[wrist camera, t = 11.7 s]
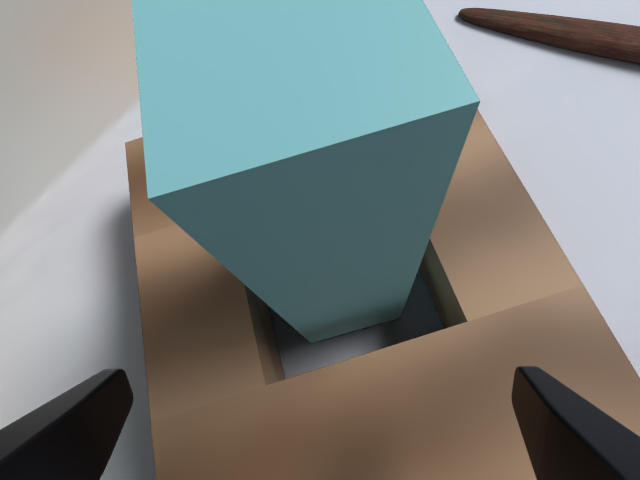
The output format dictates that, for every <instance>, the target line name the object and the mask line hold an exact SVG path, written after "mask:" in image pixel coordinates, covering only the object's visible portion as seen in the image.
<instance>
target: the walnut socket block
mask: <svg viewBox="0 0 640 480" xmlns="http://www.w3.org/2000/svg"><path fill="white" fill-rule="evenodd" d="M125 147H126V158H127V169H128V180H129V191H130V202H131V213H132V224H133V234H134V245H135V256H136V267H137V278H138V289H139V300H140V311H141V322H142V333H143V344H144V355H145V365H146V376H147V387H148V398H149V409H150V420H151V431H152V442H153V453H154V464H155V475H156V480H537V479H536V476H535V473H534V470H533V467H532V464H531V461H530V458H529V455H528V452H527V449H526V446H525V443H524V440H523V437H522V434H521V431H520V427H519V424H518V421H517V418H516V415H515V412H514V409H513V405H512V399H511V395H512V387H513V380H514V373H515V369H516V368H517V367H518V366H537V367H539V368H541V369H542V370H544V371H545V372H547V373H548V374H550V375H551V376H553V377H554V378H556V379H557V380H559V381H560V382H561V383H563V384H564V385H566V386H567V387H569V388H570V389H572V390H573V391H575V392H576V393H577V394H579V395H580V396H582V397H583V398H585V399H586V400H588V401H589V402H591V403H592V404H593V405H595V406H596V407H598V408H599V409H601V410H602V411H604V412H605V413H607V414H608V415H610V416H611V417H612V418H614V419H615V420H617V421H618V422H620V423H621V424H623V425H624V426H626V427H627V428H628V429H630V430H631V431H633V432H634V433H636V434H637V435H639V436H640V378H639V376H638V375H637V373H636V371H635V370H634V368H633V366H632V365H631V363H630V361H629V360H628V358H627V356H626V355H625V353H624V351H623V350H622V348H621V346H620V345H619V343H618V341H617V340H616V338H615V336H614V335H613V333H612V332H611V330H610V328H609V327H608V325H607V323H606V322H605V320H604V318H603V317H602V315H601V313H600V312H599V310H598V308H597V307H596V305H595V303H594V302H593V300H592V298H591V297H590V295H589V293H588V292H587V290H586V288H585V287H584V285H583V283H582V282H581V280H580V278H579V277H578V275H577V273H576V272H575V270H574V269H573V267H572V265H571V264H570V262H569V260H568V259H567V257H566V255H565V254H564V252H563V250H562V249H561V247H560V245H559V244H558V242H557V240H556V239H555V237H554V235H553V234H552V232H551V230H550V229H549V227H548V225H547V224H546V222H545V220H544V219H543V217H542V215H541V214H540V212H539V210H538V209H537V207H536V206H535V204H534V202H533V201H532V199H531V197H530V196H529V194H528V192H527V191H526V189H525V187H524V186H523V184H522V182H521V181H520V179H519V177H518V176H517V174H516V172H515V171H514V169H513V167H512V166H511V164H510V162H509V161H508V159H507V157H506V156H505V154H504V152H503V151H502V149H501V147H500V146H499V144H498V143H497V141H496V139H495V138H494V136H493V134H492V133H491V131H490V129H489V128H488V126H487V124H486V123H485V121H484V119H483V118H482V116H481V114H480V113H479V111H478V109H477V111H476V114H475V117H474V119H473V122H472V125H471V128H470V130H469V133H468V136H467V138H466V141H465V144H464V147H463V149H462V152H461V155H460V157H459V160H458V163H457V166H456V168H455V171H454V174H453V176H452V179H451V182H450V185H449V187H448V190H447V193H446V195H445V198H444V201H443V204H442V206H441V209H440V212H439V214H438V217H437V220H436V223H435V225H434V228H433V231H432V234H431V236H430V239H429V242H428V244H427V247H426V250H425V253H424V255H423V258H422V261H421V263H420V266H419V270H420V272H421V274H422V277H423V279H424V281H425V284H426V286H427V289H428V291H429V293H430V296H431V298H432V300H433V303H434V305H435V307H436V310H437V312H438V315H439V317H440V319H441V322H442V324H443V326H444V329H442V330H439V331H436V332H433V333H430V334H427V335H424V336H420V337H417V338H414V339H411V340H408V341H405V342H402V343H398V344H395V345H392V346H389V347H386V348H383V349H379V350H376V351H373V352H370V353H367V354H364V355H361V356H357V357H354V358H351V359H348V360H345V361H342V362H338V363H335V364H332V365H329V366H326V367H323V368H320V369H316V370H313V371H310V372H307V373H304V374H301V375H298V376H294V377H291V378H288V379H285V376H284V372H283V368H282V363H281V359H280V355H279V351H278V346H277V342H276V338H275V334H274V329H273V325H272V321H271V317H270V312H269V308H268V305H267V304H266V303H265V302H264V301H263V300H262V299H261V298H259V297H258V296H257V295H256V294H255V293H254V292H253V291H251V290H250V289H249V288H248V287H247V286H246V285H245V284H244V283H242V282H241V281H240V280H239V279H238V278H237V277H236V276H235V275H233V274H232V273H231V272H230V271H229V270H228V269H227V268H226V267H224V266H223V265H222V264H221V263H220V262H219V261H218V260H216V259H215V258H214V257H213V256H212V255H211V254H210V253H209V252H207V251H206V250H205V249H204V248H203V247H202V246H201V245H200V244H198V243H197V242H196V241H195V240H194V239H193V238H192V237H190V236H189V235H188V234H187V233H186V232H185V231H184V230H183V229H181V228H180V227H179V226H178V225H177V224H176V223H175V222H174V221H172V220H171V219H170V218H169V217H168V216H167V215H166V214H164V213H163V212H162V211H161V210H160V209H159V208H158V207H157V206H155V205H154V204H153V203H152V202H151V201H150V200H149V199H148V194H147V182H146V169H145V157H144V145H143V137H142V138H139V139H136V140H133V141H129V142H126V143H125Z"/></svg>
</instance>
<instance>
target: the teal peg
mask: <svg viewBox="0 0 640 480" xmlns="http://www.w3.org/2000/svg"><path fill="white" fill-rule="evenodd" d="M132 11H133V22H134V35H135V48H136V60H137V72H138V83H139V96H140V108H141V121H142V133H143V145H144V157H145V169H146V182H147V194H148V199H149V200H150V201H151V202H152V203H153V204H154V205H155V206H157V207H158V208H159V209H160V210H161V211H162V212H163V213H164V214H166V215H167V216H168V217H169V218H170V219H171V220H172V221H174V222H175V223H176V224H177V225H178V226H179V227H180V228H181V229H183V230H184V231H185V232H186V233H187V234H188V235H189V236H190V237H192V238H193V239H194V240H195V241H196V242H197V243H198V244H200V245H201V246H202V247H203V248H204V249H205V250H206V251H207V252H209V253H210V254H211V255H212V256H213V257H214V258H215V259H216V260H218V261H219V262H220V263H221V264H222V265H223V266H224V267H226V268H227V269H228V270H229V271H230V272H231V273H232V274H233V275H235V276H236V277H237V278H238V279H239V280H240V281H241V282H242V283H244V284H245V285H246V286H247V287H248V288H249V289H250V290H251V291H253V292H254V293H255V294H256V295H257V296H258V297H259V298H261V299H262V300H263V301H264V302H265V303H266V304H267V305H268V306H270V307H271V308H272V309H273V310H274V311H275V312H276V313H277V314H279V315H280V316H281V317H282V318H283V319H284V320H285V321H287V322H288V323H289V324H290V325H291V326H292V327H293V328H294V329H296V330H297V331H298V332H299V333H300V334H301V335H302V336H303V337H305V338H306V339H307V340H308V341H309V342H310V343H314V342H318V341H321V340H325V339H328V338H332V337H335V336H339V335H342V334H346V333H349V332H352V331H356V330H359V329H363V328H366V327H370V326H373V325H377V324H380V323H384V322H387V321H391V320H394V319H398V318H401V315H402V312H403V310H404V307H405V304H406V301H407V299H408V296H409V293H410V291H411V288H412V285H413V282H414V280H415V277H416V274H417V272H418V269H419V266H420V263H421V261H422V258H423V255H424V253H425V250H426V247H427V244H428V242H429V239H430V236H431V234H432V231H433V228H434V225H435V223H436V220H437V217H438V214H439V212H440V209H441V206H442V204H443V201H444V198H445V195H446V193H447V190H448V187H449V185H450V182H451V179H452V176H453V174H454V171H455V168H456V166H457V163H458V160H459V157H460V155H461V152H462V149H463V147H464V144H465V141H466V138H467V136H468V133H469V130H470V128H471V125H472V122H473V119H474V117H475V114H476V111H477V108H478V106H479V103H480V99H479V98H478V96H477V94H476V92H475V91H474V89H473V87H472V85H471V84H470V82H469V80H468V78H467V77H466V75H465V73H464V71H463V70H462V68H461V66H460V64H459V63H458V61H457V59H456V57H455V56H454V54H453V52H452V50H451V49H450V47H449V45H448V43H447V42H446V40H445V38H444V36H443V35H442V33H441V31H440V29H439V28H438V26H437V24H436V22H435V21H434V19H433V17H432V15H431V14H430V12H429V10H428V8H427V7H426V5H425V3H424V1H423V0H132Z"/></svg>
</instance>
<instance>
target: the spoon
mask: <svg viewBox="0 0 640 480" xmlns="http://www.w3.org/2000/svg"><path fill="white" fill-rule="evenodd" d="M459 16H460V17H462V18H463V19H465V20H467V21H469V22H471V23H473V24H476V25H479V26H482V27H485V28H488V29H492V30H495V31H498V32H502V33H506V34H510V35H513V36H517V37H521V38H525V39H528V40H532V41H536V42H540V43H544V44H548V45H552V46H557V47H561V48H565V49H569V50H574V51H578V52H583V53H588V54H592V55H597V56H602V57H607V58H612V59H617V60H622V61H628V62H634V63H640V26H633V25H626V24H618V23H611V22H604V21H596V20H589V19H580V18H572V17H563V16H555V15H545V14H536V13H527V12H517V11H508V10H498V9H485V8H466V9H462V10H460V12H459Z"/></svg>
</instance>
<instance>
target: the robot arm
mask: <svg viewBox="0 0 640 480" xmlns="http://www.w3.org/2000/svg"><path fill="white" fill-rule="evenodd" d="M511 399H512V405H513V409H514V412H515V415H516V418H517V421H518V424H519V427H520V431H521V434H522V437H523V440H524V443H525V446H526V449H527V452H528V455H529V458H530V461H531V464H532V467H533V470H534V473H535V476H536V479H537V480H640V436H639V435H637V434H636V433H634V432H633V431H631V430H630V429H628V428H627V427H626V426H624V425H623V424H621V423H620V422H618V421H617V420H615V419H614V418H612V417H611V416H610V415H608V414H607V413H605V412H604V411H602V410H601V409H599V408H598V407H596V406H595V405H593V404H592V403H591V402H589V401H588V400H586V399H585V398H583V397H582V396H580V395H579V394H577V393H576V392H575V391H573V390H572V389H570V388H569V387H567V386H566V385H564V384H563V383H561V382H560V381H559V380H557V379H556V378H554V377H553V376H551V375H550V374H548V373H547V372H545V371H544V370H542V369H541V368H539V367H537V366H518V367H517V368H516V369H515V373H514V380H513V387H512V395H511ZM132 404H133V393H132V390H131V387H130V384H129V381H128V378H127V375H126V373H125V371H124V370H122V369H105V370H103V371H101V372H99V373H97V374H96V375H94V376H92V377H90V378H89V379H87V380H85V381H84V382H82V383H80V384H78V385H77V386H75V387H73V388H71V389H70V390H68V391H66V392H65V393H63V394H61V395H59V396H58V397H56V398H54V399H53V400H51V401H49V402H47V403H46V404H44V405H42V406H40V407H39V408H37V409H35V410H34V411H32V412H30V413H28V414H27V415H25V416H23V417H22V418H20V419H18V420H16V421H15V422H13V423H11V424H9V425H8V426H6V427H4V428H3V429H1V430H0V480H100V478H101V476H102V474H103V472H104V470H105V467H106V465H107V463H108V461H109V459H110V456H111V454H112V452H113V449H114V447H115V445H116V442H117V440H118V437H119V435H120V433H121V430H122V428H123V426H124V423H125V421H126V419H127V416H128V414H129V412H130V409H131V407H132Z"/></svg>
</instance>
